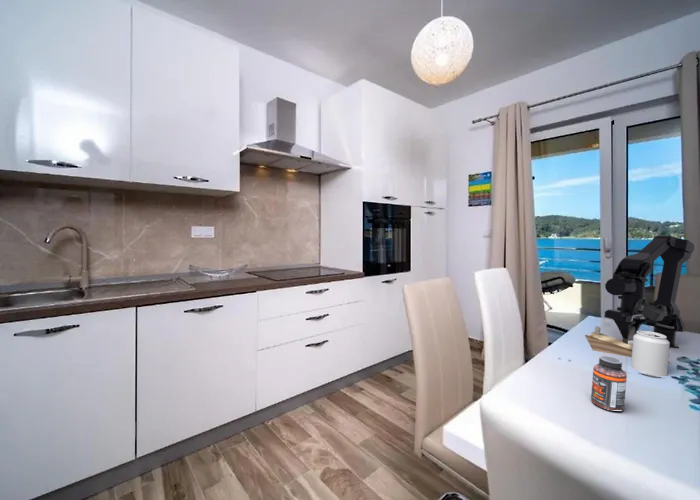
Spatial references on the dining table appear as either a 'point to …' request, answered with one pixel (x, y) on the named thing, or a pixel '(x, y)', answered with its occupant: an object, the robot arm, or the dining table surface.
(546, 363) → the dining table surface
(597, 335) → the lever
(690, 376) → the dining table surface
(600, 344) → the keeper board
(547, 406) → the dining table surface
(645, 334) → the can
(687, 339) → the dining table surface
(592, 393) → the supplement bottle
